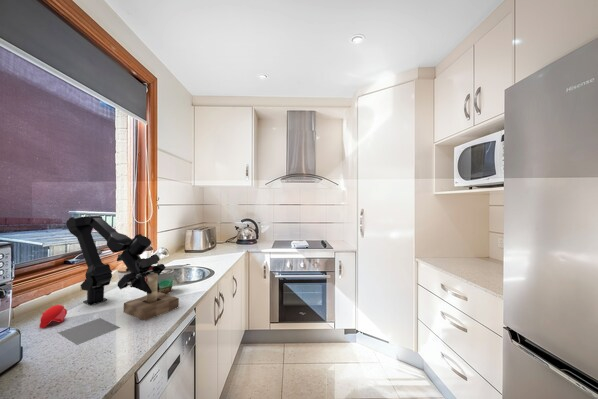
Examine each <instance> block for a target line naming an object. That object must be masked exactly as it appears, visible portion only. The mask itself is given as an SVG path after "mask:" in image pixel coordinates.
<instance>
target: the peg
mask: <svg viewBox="0 0 598 399" xmlns="http://www.w3.org/2000/svg"><path fill="white" fill-rule="evenodd" d="M147 284H148V286H149V287H150V289H151V291H152V293H151V294H149V293H146V295H147V303H148V304H151V303H154V302H156V301H157V285H158V274H157V273H152V274H148V276H147Z"/></svg>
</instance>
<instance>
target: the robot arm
mask: <svg viewBox="0 0 598 399" xmlns="http://www.w3.org/2000/svg"><path fill="white" fill-rule="evenodd" d="M65 225H66V228H67V230H68V232H69V233H70V234H71V235H73V236H74V237H75V238H77V241H78V244H79V246H80V249H81V252H82V254H83V259H84V261H85V263H86V266H87V268H86V272H85V274H84V275H85V280H84V281H83V282H82V283H81V284H80V289H81V291H86V299H85V300H83V303H84V304H86V305H88V306H92V305H96V304H100V303H103V302H106V301H108V298H106V297H105V286H109V285H110V283H111V281H112V278H113V271H112V269H111V265H110V264H109V263H106V264H105V263H103V262H102V260H101V256H100V253H99V251H98V249H97V246H96V243H95V240H94V236H93V234H92V233H93V232H92V231H93V229H94V231H96V232H97V233H98V234H99V235H100V236H101V237H102V238H103V239H104V240H105V241H106V246H107V247H108V249H109V251H110V252H112V253H119V252H121V253H119V254H117V258H116V262H122V263H123V264H124V265H125V267H127V269H126V271H127V272H128V271H130V272H131V273H129V274H126V275H124V276H123V277H122V278H121V279H120V280H119V279H118V282H117V287H118V289H119V290H122V289H126V288H127V287H128V286H129V284H128V282H131V284H130V286H129V287H130V288H135V289H136V290H140V291H143V292H145V293H146V294H147V293H149V294H151V293H152V291H151V289H150V287H149V286H148V284H147V283H146V281H147V280H146V281H145V277H147V276H148V274H152V273H157V274H158V275H159V274H160V273H161V272H164V270H165V269H166V267H167V266H165V264H163V263H159V261H160V257H159V255H158V254H157V253H155V254H152V255H150V257H147V258H141V256H140V255H143V254H144V252H145V251H146V250H147V249H148V248H149V247H150V246H151V244H152V241H151V239H150V238H148V236H144V235H142V234H141V233H138V234H135V236H134V237H133V238H131V237H130V236H128V235H127V234H124V233H120V232H118V231H117V230H116V229H115V228H114V227H112V226H111V225H110V224H109V223H108V222H107V221H106V220H105V219H104V218H103V217H102V215H99V214H93V215H92V214H91V215H86V216H84V215H83V216H71V217H69V218H68V219H67V221H66V222H65ZM157 263H158V264H159V265H155V266H154V267H153V268H152V269H151V270H149V269H150V268H151V267H152V266H151V265H154V264H157ZM159 289H160V288H159V283H158V285H157V291H158V290H159Z"/></svg>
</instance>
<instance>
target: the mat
mask: <svg viewBox="0 0 598 399" xmlns="http://www.w3.org/2000/svg"><path fill="white" fill-rule="evenodd" d="M120 328H121V327H120V326H119V325H116V324H114V323H112V322H109V321H108V320H105V319H103V318H102V317H99V318H96V319H93V320H90V321H87V322H85V323H82V324H81V323H80V324H78V325H75V326H73V327H70V328H67V329H64V330H60V331H59V332H57V334H59V335H60V336H62V337H64V338H65V339H67V340H68V341H70V342H71V343H73V344H74V345H76V346H79V345H81V344H84V343H86V342H88V341H90V340H94V339H96V338H98V337H101V336H104V335H105V334H108V333H111V332H113V331H116V330H119V329H120Z"/></svg>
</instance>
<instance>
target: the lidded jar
mask: <svg viewBox="0 0 598 399" xmlns="http://www.w3.org/2000/svg"><path fill="white" fill-rule="evenodd" d="M126 269H127V267H126V266H122V267H119V268H118V269H117V279H118V281H119V280H120V279H121V278H122V277H123V276H124V275H126V274H129V273H131V272H130V271H128V272H127V271H126ZM128 285H132V284H131V282H128Z"/></svg>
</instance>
